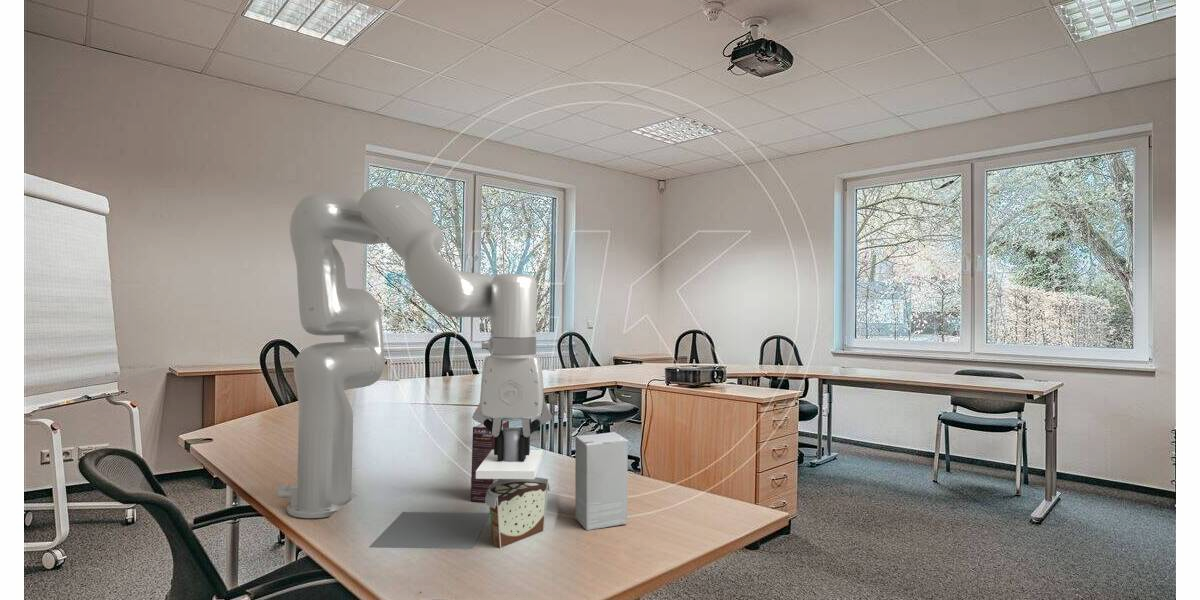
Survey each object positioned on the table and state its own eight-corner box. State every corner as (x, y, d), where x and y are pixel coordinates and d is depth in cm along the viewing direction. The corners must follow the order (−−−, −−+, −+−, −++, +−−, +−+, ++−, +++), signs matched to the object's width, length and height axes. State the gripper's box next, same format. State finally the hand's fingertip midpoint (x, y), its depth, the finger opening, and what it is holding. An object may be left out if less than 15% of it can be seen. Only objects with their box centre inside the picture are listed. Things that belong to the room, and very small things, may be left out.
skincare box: (614, 514, 112) (615, 430, 113) (629, 527, 106) (630, 438, 106) (572, 519, 109) (573, 433, 109) (585, 532, 103) (586, 441, 103)
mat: (368, 556, 91) (368, 547, 91) (402, 520, 107) (402, 511, 107) (471, 558, 91) (472, 548, 91) (490, 521, 107) (490, 513, 107)
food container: (524, 528, 104) (525, 471, 104) (549, 537, 100) (550, 478, 100) (468, 550, 95) (469, 487, 95) (493, 560, 91) (494, 495, 91)
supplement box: (492, 511, 113) (494, 428, 113) (469, 509, 114) (470, 426, 114) (508, 497, 121) (510, 420, 121) (486, 496, 122) (488, 419, 122)
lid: (475, 478, 90) (476, 438, 91) (492, 456, 104) (492, 421, 105) (534, 479, 90) (534, 438, 91) (542, 456, 104) (543, 421, 105)
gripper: (458, 349, 94) (457, 465, 94) (561, 350, 94) (559, 466, 94) (469, 346, 102) (467, 453, 101) (563, 347, 102) (562, 454, 101)
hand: (511, 458), depth 98 cm, fingers closed on lid, 3 cm apart
